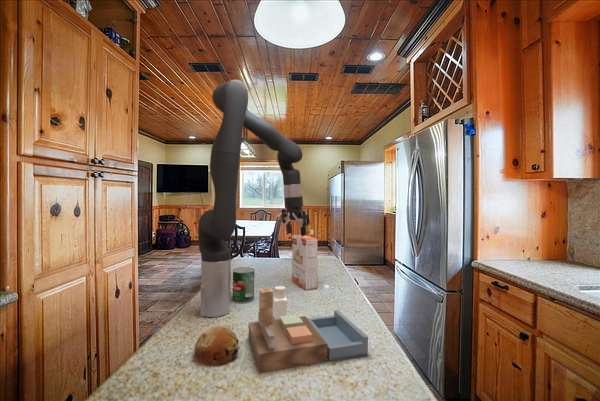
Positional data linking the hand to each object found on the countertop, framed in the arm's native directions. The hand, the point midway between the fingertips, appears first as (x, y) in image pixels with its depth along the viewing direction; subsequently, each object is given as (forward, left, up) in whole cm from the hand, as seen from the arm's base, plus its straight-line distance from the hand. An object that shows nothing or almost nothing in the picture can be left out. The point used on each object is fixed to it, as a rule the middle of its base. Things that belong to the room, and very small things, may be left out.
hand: (296, 234), depth 118 cm
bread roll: (-32, -42, -23) cm, 57 cm away
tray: (-3, -44, -22) cm, 49 cm away
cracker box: (+5, +4, -23) cm, 24 cm away
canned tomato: (-22, -7, -23) cm, 32 cm away
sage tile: (-14, -40, -18) cm, 46 cm away
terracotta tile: (-14, -47, -18) cm, 53 cm away
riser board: (-16, -44, -22) cm, 52 cm away
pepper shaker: (-13, -26, -23) cm, 37 cm away
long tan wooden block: (-21, -44, -18) cm, 52 cm away
